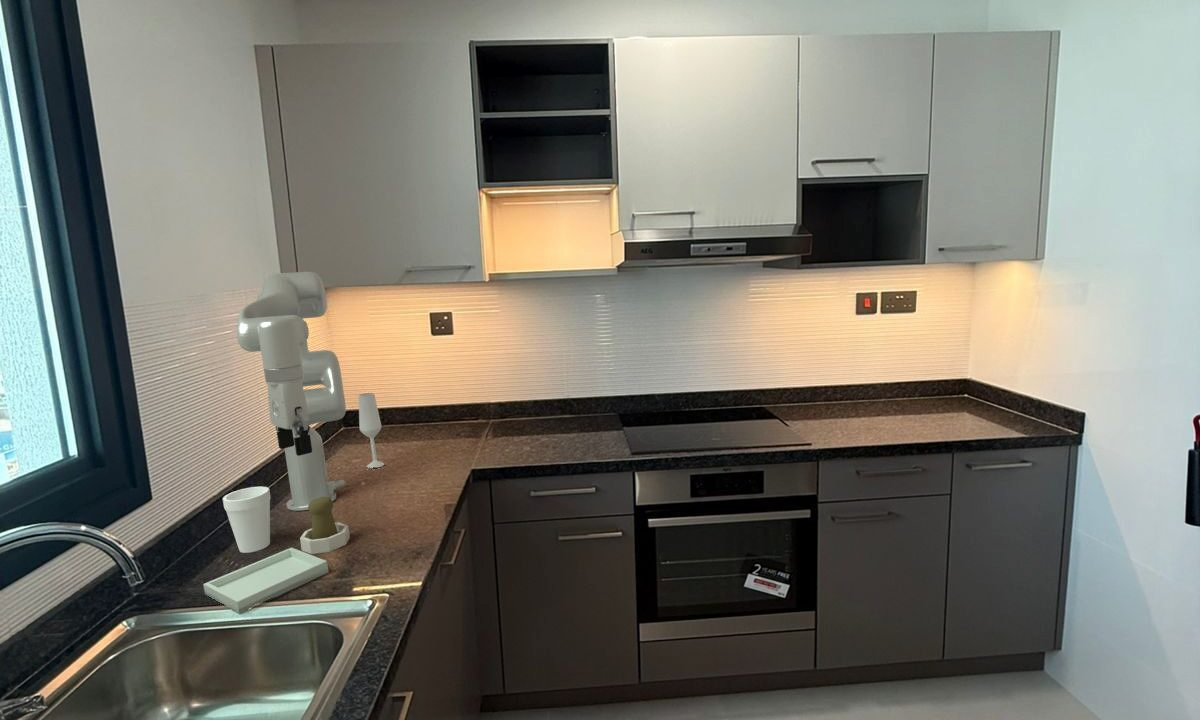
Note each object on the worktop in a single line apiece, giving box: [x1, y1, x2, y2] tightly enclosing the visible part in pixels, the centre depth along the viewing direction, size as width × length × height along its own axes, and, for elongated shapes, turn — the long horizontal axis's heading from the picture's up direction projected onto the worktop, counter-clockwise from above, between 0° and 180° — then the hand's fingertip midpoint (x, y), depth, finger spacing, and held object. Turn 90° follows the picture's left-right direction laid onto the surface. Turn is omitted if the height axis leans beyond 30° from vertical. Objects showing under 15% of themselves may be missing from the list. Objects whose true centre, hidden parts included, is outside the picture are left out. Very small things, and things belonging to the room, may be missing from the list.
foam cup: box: [222, 486, 272, 554], centre depth 145 cm, size 10×9×13 cm
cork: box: [308, 497, 338, 540], centre depth 144 cm, size 6×6×11 cm
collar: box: [299, 522, 351, 555], centre depth 145 cm, size 10×10×3 cm
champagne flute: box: [358, 392, 385, 468], centre depth 202 cm, size 7×7×24 cm
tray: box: [203, 547, 329, 615], centre depth 127 cm, size 18×14×2 cm
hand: (295, 450), depth 138 cm, fingers open, 9 cm apart
